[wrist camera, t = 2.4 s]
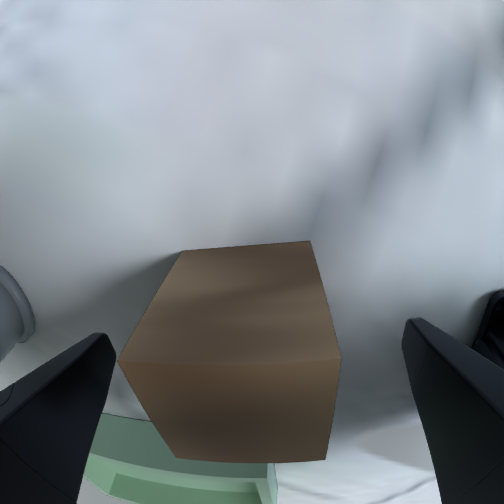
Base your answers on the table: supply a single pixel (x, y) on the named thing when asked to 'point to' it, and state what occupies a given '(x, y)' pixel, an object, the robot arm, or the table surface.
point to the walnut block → (238, 356)
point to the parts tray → (168, 470)
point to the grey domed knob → (13, 314)
